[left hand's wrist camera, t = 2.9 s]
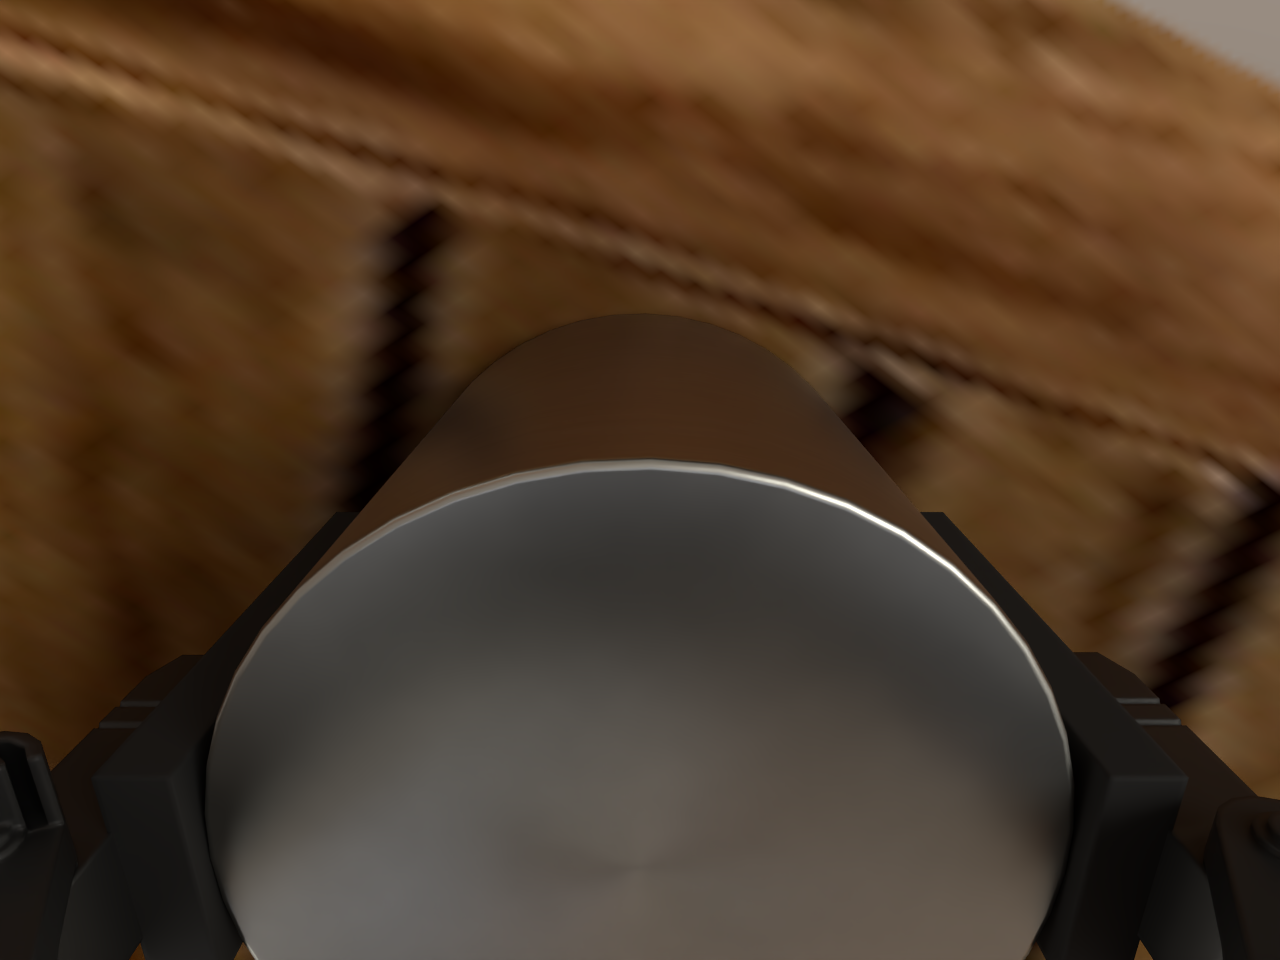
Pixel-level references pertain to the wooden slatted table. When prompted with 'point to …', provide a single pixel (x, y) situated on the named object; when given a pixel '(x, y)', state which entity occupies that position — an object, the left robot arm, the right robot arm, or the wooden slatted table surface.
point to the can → (639, 692)
